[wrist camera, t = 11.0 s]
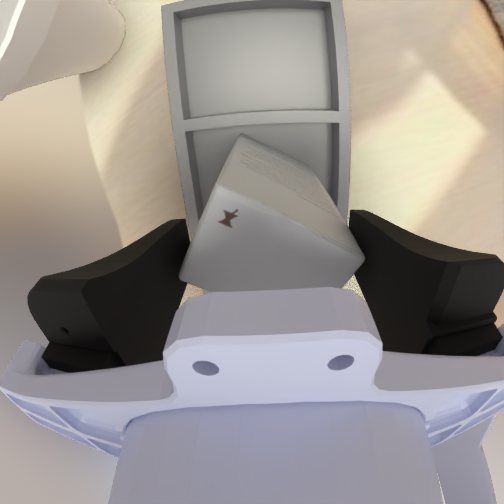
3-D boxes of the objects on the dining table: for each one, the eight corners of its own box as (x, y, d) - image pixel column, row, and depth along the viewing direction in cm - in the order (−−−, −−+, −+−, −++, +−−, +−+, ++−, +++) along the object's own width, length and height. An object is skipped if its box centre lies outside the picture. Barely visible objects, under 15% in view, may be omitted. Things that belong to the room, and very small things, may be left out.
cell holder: (328, 301, 28) (333, 321, 25) (215, 306, 28) (211, 327, 26) (330, 6, 13) (340, -6, 11) (173, 16, 14) (161, 5, 12)
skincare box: (216, 181, 20) (171, 279, 10) (240, 131, 18) (213, 178, 8) (287, 215, 22) (308, 331, 11) (315, 169, 20) (371, 257, 9)
